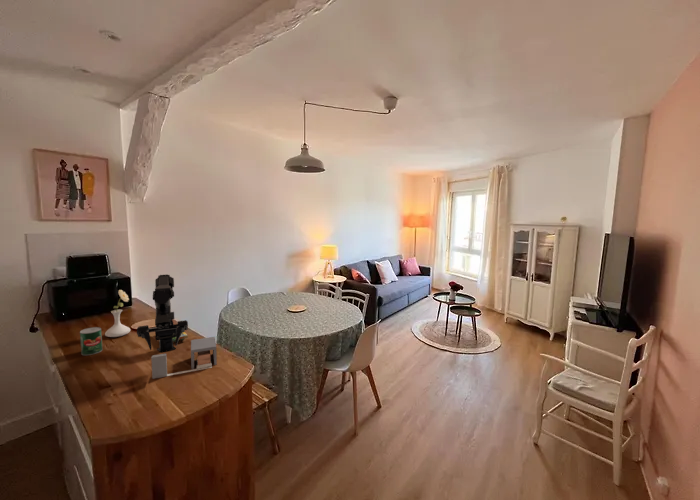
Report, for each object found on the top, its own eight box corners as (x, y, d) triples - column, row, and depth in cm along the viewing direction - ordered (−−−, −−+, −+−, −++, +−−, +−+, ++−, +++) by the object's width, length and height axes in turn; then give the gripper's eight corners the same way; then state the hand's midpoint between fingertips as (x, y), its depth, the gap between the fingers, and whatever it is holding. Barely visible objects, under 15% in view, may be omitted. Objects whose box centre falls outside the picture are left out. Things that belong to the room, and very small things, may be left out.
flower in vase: (120, 339, 161) (117, 294, 158) (99, 338, 161) (96, 293, 158) (137, 330, 174) (135, 288, 171) (118, 329, 174) (115, 287, 171)
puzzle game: (178, 323, 174) (187, 333, 160) (178, 331, 175) (188, 342, 160) (154, 328, 167) (162, 339, 152) (155, 336, 167) (162, 348, 152)
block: (197, 362, 136) (197, 351, 135) (210, 359, 138) (209, 349, 138) (197, 366, 132) (197, 356, 131) (210, 364, 134) (210, 354, 133)
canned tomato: (90, 356, 141) (88, 333, 140) (76, 354, 143) (75, 332, 142) (106, 349, 149) (105, 327, 148) (94, 347, 151) (92, 326, 149)
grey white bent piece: (155, 370, 129) (154, 348, 128) (211, 360, 139) (210, 340, 138) (152, 381, 121) (151, 357, 120) (212, 369, 131) (211, 348, 130)
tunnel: (191, 359, 140) (191, 340, 139) (215, 355, 145) (214, 336, 144) (191, 371, 130) (190, 350, 129) (216, 367, 134) (216, 346, 133)
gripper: (135, 308, 124) (134, 345, 117) (187, 303, 133) (188, 337, 126) (138, 319, 132) (137, 354, 125) (186, 313, 141) (188, 345, 134)
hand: (163, 347), depth 127 cm, fingers open, 9 cm apart
